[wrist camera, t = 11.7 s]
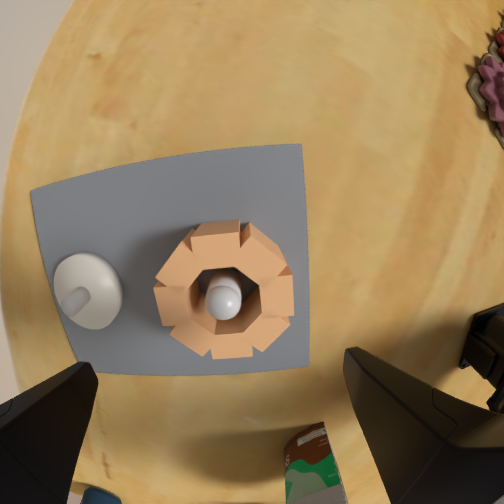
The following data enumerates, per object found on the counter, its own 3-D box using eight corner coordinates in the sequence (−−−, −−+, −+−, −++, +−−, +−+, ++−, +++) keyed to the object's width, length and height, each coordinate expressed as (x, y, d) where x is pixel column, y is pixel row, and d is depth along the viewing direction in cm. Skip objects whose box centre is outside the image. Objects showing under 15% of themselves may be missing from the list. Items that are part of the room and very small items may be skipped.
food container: (255, 430, 22) (260, 523, 13) (320, 412, 22) (346, 504, 12) (288, 479, 25) (297, 545, 16) (337, 465, 25) (355, 530, 15)
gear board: (298, 144, 16) (321, 134, 11) (306, 359, 20) (321, 406, 15) (37, 189, 16) (-9, 198, 11) (86, 365, 20) (61, 402, 15)
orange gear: (279, 215, 16) (289, 227, 13) (286, 320, 18) (295, 351, 15) (163, 228, 16) (144, 242, 13) (183, 329, 18) (172, 360, 15)
